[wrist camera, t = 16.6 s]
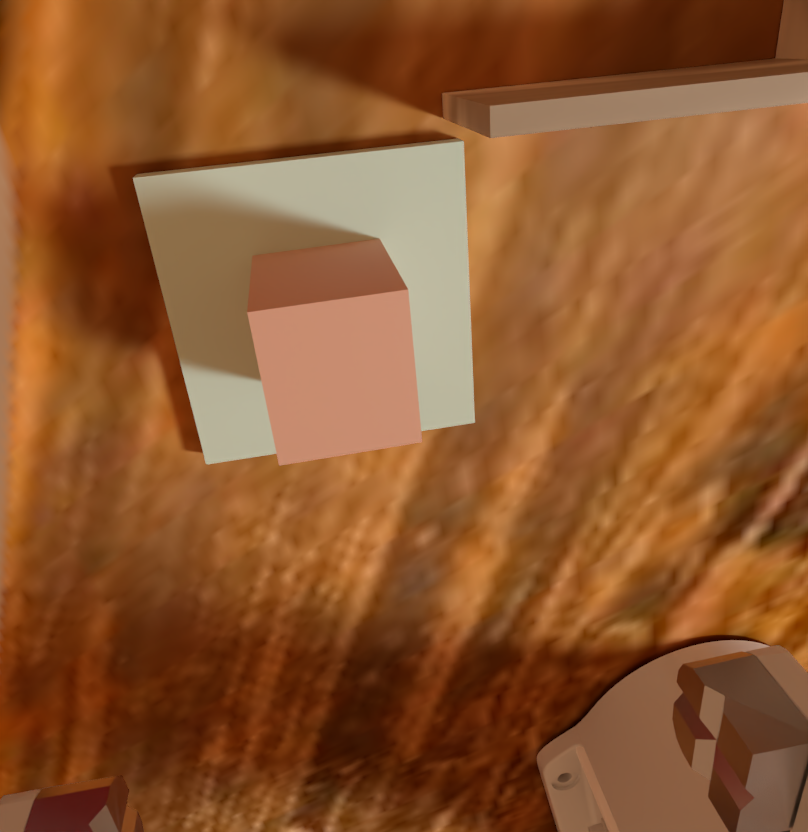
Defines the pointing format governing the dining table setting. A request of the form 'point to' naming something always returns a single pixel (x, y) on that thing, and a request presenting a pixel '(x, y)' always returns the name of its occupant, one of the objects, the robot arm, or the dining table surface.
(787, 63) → the open box
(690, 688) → the robot arm
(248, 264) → the green mat
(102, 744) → the dining table surface
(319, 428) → the block
